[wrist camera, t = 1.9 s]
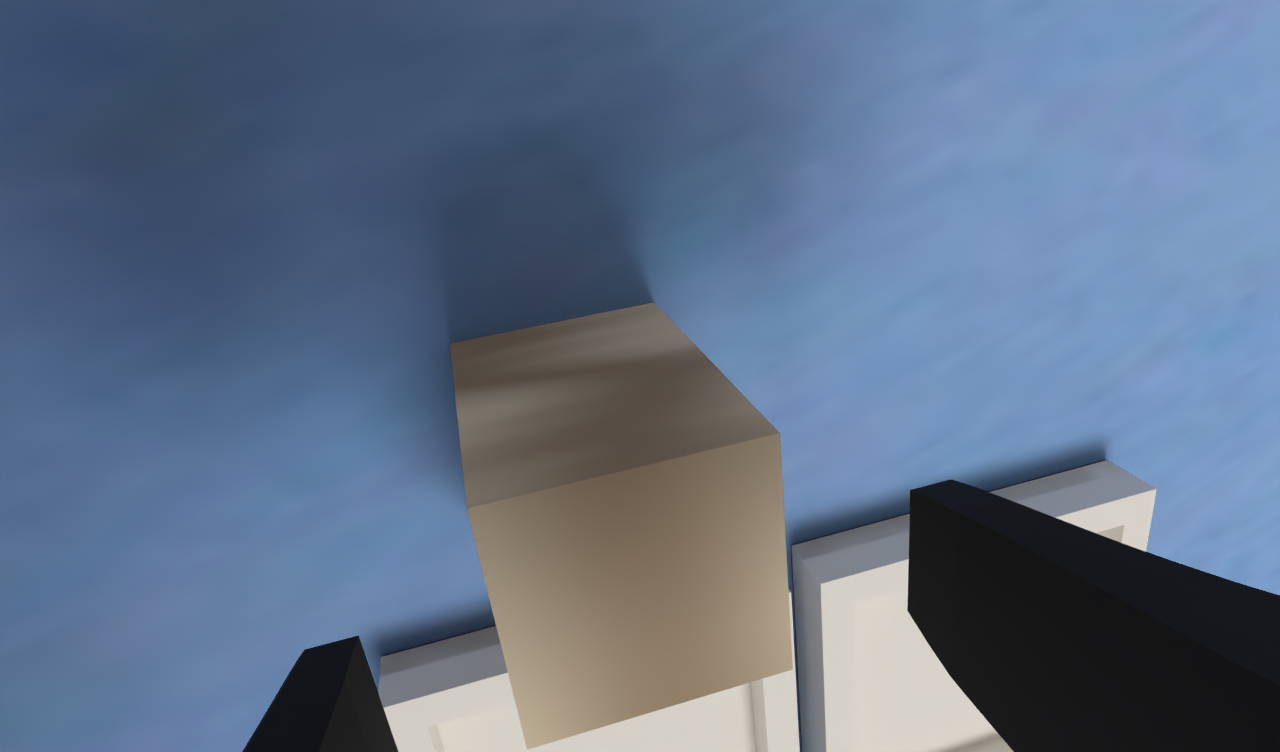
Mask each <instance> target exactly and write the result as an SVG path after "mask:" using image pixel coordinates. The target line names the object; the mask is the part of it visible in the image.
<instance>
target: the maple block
mask: <svg viewBox="0 0 1280 752" xmlns="http://www.w3.org/2000/svg"><path fill="white" fill-rule="evenodd" d="M450 353H451V362H452V372H453V381H454V391H455V400H456V410H457V419H458V429H459V438H460V448H461V457H462V467H463V476H464V486H465V495H466V505H467V511H468V515H469V519H470V523H471V527H472V531H473V535H474V539H475V543H476V547H477V551H478V555H479V559H480V563H481V567H482V571H483V575H484V579H485V583H486V587H487V591H488V595H489V599H490V603H491V607H492V611H493V615H494V619H495V623H496V627H497V631H498V635H499V639H500V643H501V647H502V651H503V655H504V659H505V663H506V667H507V671H508V675H509V679H510V683H511V687H512V691H513V695H514V699H515V703H516V707H517V711H518V715H519V719H520V723H521V727H522V731H523V735H524V739H525V743H526V747H527V750H528V749H531V748H535V747H538V746H541V745H545V744H548V743H551V742H555V741H558V740H561V739H565V738H568V737H571V736H574V735H578V734H581V733H584V732H588V731H591V730H594V729H598V728H601V727H604V726H608V725H611V724H614V723H617V722H621V721H624V720H627V719H631V718H634V717H637V716H641V715H644V714H647V713H651V712H654V711H657V710H661V709H664V708H667V707H670V706H674V705H677V704H680V703H684V702H687V701H690V700H694V699H697V698H700V697H704V696H707V695H710V694H713V693H717V692H720V691H723V690H727V689H730V688H733V687H737V686H740V685H743V684H747V683H750V682H753V681H756V680H760V679H763V678H766V677H770V676H773V675H776V674H780V673H783V672H786V671H790V670H793V664H792V646H791V628H790V609H789V591H788V573H787V555H786V537H785V518H784V500H783V482H782V464H781V446H780V433H779V432H778V431H777V430H776V429H775V428H774V427H773V426H772V425H771V423H770V422H769V421H768V420H767V419H766V418H765V417H764V416H763V415H762V414H761V413H760V412H759V411H758V410H757V409H756V408H755V407H754V406H753V405H752V404H751V403H750V402H749V401H748V400H747V398H746V397H745V396H744V395H743V394H742V393H741V392H740V391H739V390H738V389H737V388H736V387H735V386H734V385H733V384H732V383H731V382H730V381H729V380H728V379H727V378H726V377H725V376H724V375H723V373H722V372H721V371H720V370H719V369H718V368H717V367H716V366H715V365H714V364H713V363H712V362H711V361H710V360H709V359H708V358H707V357H706V356H705V355H704V354H703V353H702V352H701V351H700V350H699V348H698V347H697V346H696V345H695V344H694V343H693V342H692V341H691V340H690V339H689V338H688V337H687V336H686V335H685V334H684V333H683V332H682V331H681V330H680V329H679V328H678V327H677V326H676V325H675V324H674V322H673V321H672V320H671V319H670V318H669V317H668V316H667V315H666V314H665V313H664V312H663V311H662V310H661V309H660V308H659V307H658V306H657V305H656V304H655V303H654V302H653V303H648V304H643V305H638V306H633V307H628V308H623V309H618V310H613V311H608V312H603V313H598V314H593V315H588V316H583V317H578V318H573V319H568V320H563V321H558V322H553V323H548V324H543V325H539V326H534V327H529V328H524V329H519V330H514V331H509V332H504V333H499V334H494V335H489V336H484V337H479V338H474V339H469V340H464V341H459V342H454V343H450Z"/></svg>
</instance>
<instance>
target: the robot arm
mask: <svg viewBox="0 0 1280 752" xmlns="http://www.w3.org/2000/svg"><path fill="white" fill-rule="evenodd" d="M907 611H908V612H909V614H910V616H911V617H912V619H913V620H914V622H915V624H916V625H917V627H918V628H919V630H920V631H921V633H922V635H923V636H924V638H925V639H926V641H927V643H928V644H929V646H930V647H931V649H932V650H933V652H934V653H935V655H936V656H937V658H938V659H939V661H940V662H941V663H942V665H943V666H944V668H945V669H946V671H947V672H948V674H949V675H950V677H951V678H952V679H953V680H954V681H955V683H956V684H957V685H958V686H959V688H960V689H961V690H962V691H963V692H964V694H965V695H966V696H967V697H968V698H969V700H970V701H971V702H972V703H973V704H974V706H975V707H976V708H977V709H978V710H979V711H980V713H981V714H982V715H983V716H984V717H985V719H986V720H987V721H988V722H989V723H990V725H991V726H992V727H993V728H994V729H995V730H996V732H997V733H998V734H999V735H1000V736H1001V737H1002V739H1003V740H1004V741H1005V742H1006V743H1007V744H1008V746H1009V747H1010V748H1011V749H1012V750H1013V751H1014V752H1280V595H1276V594H1273V593H1269V592H1266V591H1263V590H1259V589H1256V588H1253V587H1249V586H1246V585H1243V584H1240V583H1237V582H1233V581H1230V580H1227V579H1224V578H1221V577H1218V576H1215V575H1212V574H1209V573H1206V572H1203V571H1200V570H1197V569H1194V568H1191V567H1188V566H1185V565H1182V564H1179V563H1176V562H1173V561H1170V560H1168V559H1165V558H1162V557H1159V556H1156V555H1154V554H1151V553H1148V552H1145V551H1142V550H1140V549H1137V548H1134V547H1131V546H1129V545H1126V544H1123V543H1121V542H1118V541H1115V540H1113V539H1110V538H1107V537H1105V536H1102V535H1099V534H1097V533H1094V532H1091V531H1089V530H1086V529H1084V528H1081V527H1078V526H1076V525H1073V524H1071V523H1068V522H1065V521H1063V520H1060V519H1058V518H1055V517H1052V516H1050V515H1047V514H1045V513H1042V512H1040V511H1037V510H1034V509H1032V508H1029V507H1027V506H1024V505H1022V504H1019V503H1016V502H1014V501H1011V500H1009V499H1006V498H1003V497H1001V496H998V495H995V494H993V493H990V492H987V491H984V490H982V489H979V488H976V487H973V486H970V485H967V484H964V483H961V482H957V481H954V480H947V481H943V482H939V483H936V484H932V485H928V486H924V487H921V488H917V489H913V490H910V525H909V565H908V606H907ZM243 752H398V749H397V746H396V743H395V740H394V737H393V735H392V732H391V729H390V726H389V723H388V720H387V717H386V714H385V711H384V708H383V705H382V703H381V700H380V697H379V694H378V691H377V688H376V685H375V682H374V679H373V676H372V674H371V671H370V668H369V665H368V662H367V659H366V656H365V653H364V650H363V647H362V644H361V642H360V639H359V636H355V637H351V638H348V639H344V640H340V641H336V642H332V643H329V644H325V645H321V646H317V647H313V648H310V649H306V650H304V651H303V653H302V654H301V656H300V657H299V658H298V660H297V662H296V663H295V665H294V666H293V668H292V670H291V671H290V673H289V675H288V676H287V678H286V680H285V681H284V683H283V685H282V686H281V688H280V690H279V692H278V693H277V695H276V697H275V698H274V700H273V702H272V703H271V705H270V707H269V708H268V710H267V712H266V713H265V715H264V717H263V718H262V720H261V722H260V724H259V725H258V727H257V728H256V730H255V732H254V733H253V735H252V737H251V738H250V740H249V742H248V743H247V745H246V747H245V748H244V750H243Z"/></svg>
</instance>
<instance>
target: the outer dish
mask: <svg viewBox="0 0 1280 752" xmlns="http://www.w3.org/2000/svg"><path fill="white" fill-rule="evenodd" d="M1156 490H1157V489H1156V488H1155V487H1153V486H1151V485H1149V484H1148V483H1146V482H1144V481H1143V480H1141V479H1139V478H1137V477H1136V476H1134V475H1132V474H1131V473H1129V472H1127V471H1125V470H1124V469H1122V468H1120V467H1119V466H1117V465H1115V464H1113V463H1112V462H1110V461H1108V460H1106V461H1102V462H1098V463H1095V464H1091V465H1087V466H1084V467H1080V468H1076V469H1072V470H1069V471H1065V472H1061V473H1058V474H1054V475H1050V476H1047V477H1043V478H1039V479H1036V480H1032V481H1028V482H1025V483H1021V484H1017V485H1013V486H1010V487H1006V488H1002V489H999V490H995V491H991V492H990V493H993V494H995V495H998V496H1001V497H1003V498H1006V499H1009V500H1011V501H1014V502H1016V503H1019V504H1022V505H1024V506H1027V507H1029V508H1032V509H1034V510H1037V511H1040V512H1042V513H1045V514H1047V515H1050V516H1052V517H1055V518H1058V519H1060V520H1063V521H1065V522H1068V523H1071V524H1073V525H1076V526H1078V527H1081V528H1084V529H1086V530H1089V531H1091V532H1094V533H1097V534H1099V535H1102V536H1105V537H1107V538H1110V539H1113V540H1115V541H1118V542H1121V543H1123V544H1126V545H1129V546H1131V547H1134V548H1137V549H1140V550H1142V551H1145V552H1146V548H1147V542H1148V537H1149V531H1150V525H1151V519H1152V514H1153V508H1154V502H1155V496H1156ZM909 525H910V514H907V515H903V516H899V517H895V518H892V519H888V520H884V521H881V522H877V523H873V524H870V525H866V526H862V527H859V528H855V529H851V530H848V531H844V532H840V533H836V534H833V535H829V536H825V537H822V538H818V539H814V540H811V541H807V542H803V543H800V544H796V545H792V546H791V547H792V566H793V586H794V605H795V625H796V644H797V664H798V683H799V703H800V722H801V742H802V752H1014V751H1013V750H1012V749H1011V748H1010V747H1009V746H1008V744H1007V743H1006V742H1005V741H1004V740H1003V739H1002V737H1001V736H1000V735H999V734H998V733H997V732H996V730H995V729H994V728H993V727H992V726H991V725H990V723H989V722H988V721H987V720H986V719H985V717H984V716H983V715H982V714H981V713H980V711H979V710H978V709H977V708H976V707H975V706H974V704H973V703H972V702H971V701H970V700H969V698H968V697H967V696H966V695H965V694H964V692H963V691H962V690H961V689H960V688H959V686H958V685H957V684H956V683H955V681H954V680H953V679H952V678H951V677H950V675H949V674H948V672H947V671H946V669H945V668H944V666H943V665H942V663H941V662H940V661H939V659H938V658H937V656H936V655H935V653H934V652H933V650H932V649H931V647H930V646H929V644H928V643H927V641H926V639H925V638H924V636H923V635H922V633H921V631H920V630H919V628H918V627H917V625H916V624H915V622H914V620H913V619H912V617H911V616H910V614H909V612H908V611H907V606H908V565H909Z"/></svg>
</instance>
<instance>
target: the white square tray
mask: <svg viewBox="0 0 1280 752" xmlns="http://www.w3.org/2000/svg"><path fill="white" fill-rule="evenodd" d="M788 591H789V609H790V628H791V646H792V664H793V670H790V671H786V672H783V673H780V674H776V675H773V676H770V677H766V678H763V679H760V680H756V681H753V682H750V683H747V684H743V685H740V686H737V687H733V688H730V689H727V690H723V691H720V692H717V693H713V694H710V695H707V696H704V697H700V698H697V699H694V700H690V701H687V702H684V703H680V704H677V705H674V706H670V707H667V708H664V709H661V710H657V711H654V712H651V713H647V714H644V715H641V716H637V717H634V718H631V719H627V720H624V721H621V722H617V723H614V724H611V725H608V726H604V727H601V728H598V729H594V730H591V731H588V732H584V733H581V734H578V735H574V736H571V737H568V738H565V739H561V740H558V741H555V742H551V743H548V744H545V745H541V746H538V747H535V748H531V749H528V750H527V747H526V743H525V739H524V735H523V731H522V727H521V723H520V719H519V715H518V711H517V707H516V703H515V699H514V695H513V691H512V687H511V683H510V679H509V675H508V671H507V667H506V663H505V659H504V655H503V651H502V647H501V643H500V639H499V635H498V631H497V627H496V626H494V627H490V628H486V629H482V630H479V631H475V632H471V633H468V634H464V635H460V636H457V637H453V638H449V639H446V640H442V641H438V642H435V643H431V644H427V645H423V646H420V647H416V648H412V649H409V650H405V651H401V652H398V653H394V654H390V655H387V656H383V657H381V659H380V675H379V691H378V694H379V697H380V700H381V703H382V705H383V708H384V711H385V714H386V717H387V720H388V723H389V726H390V729H391V732H392V735H393V737H394V740H395V743H396V746H397V749H398V752H800V749H799V730H798V711H797V693H796V674H795V655H794V636H793V617H792V598H791V591H790V590H789V588H788Z"/></svg>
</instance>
